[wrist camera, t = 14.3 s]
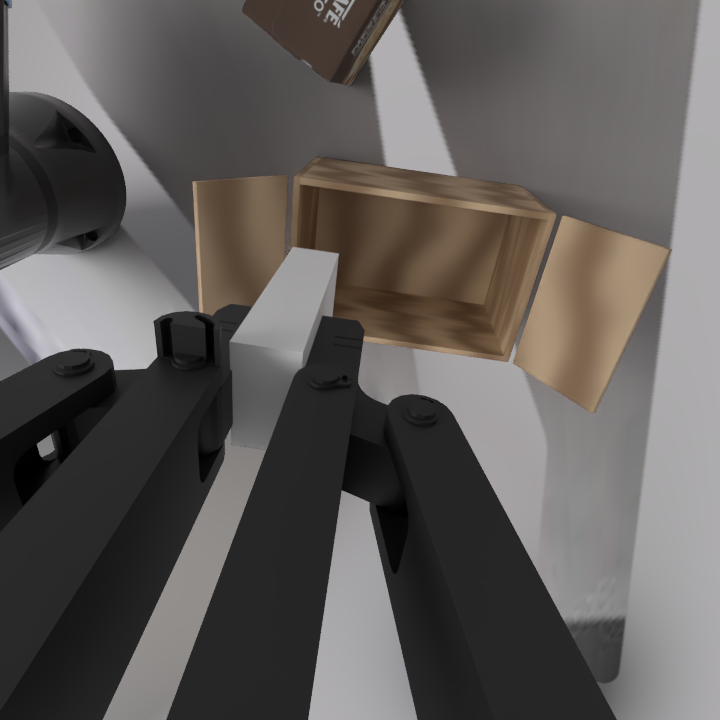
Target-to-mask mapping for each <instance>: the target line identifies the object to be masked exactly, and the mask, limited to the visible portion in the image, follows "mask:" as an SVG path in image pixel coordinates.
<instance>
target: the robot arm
mask: <svg viewBox="0 0 720 720" xmlns="http://www.w3.org/2000/svg"><path fill="white" fill-rule="evenodd" d="M11 7H12V1H11V0H0V270H1V269H4V268H6V267H8V266H10V265H12V264H14V263H16V262H18V261H20V260H22V259H24V258H26V257H28V256H30V255H33V254H74V253H79V252H83V251H86V250H88V249H91V248H93V247H95V246H97V245H98V244H100V243H102V242H104V241H105V240H107V239H108V238H109V237H111V236H112V235H113V233H114V232H115V231H116V230H117V228H118V227H119V225H120V223H121V221H122V218H123V215H124V212H125V206H126V186H125V180H124V176H123V172H122V170H121V166H120V163H119V161H118V159H117V157H116V155H115V153H114V151H113V149H112V147H111V146H110V144H109V143H108V141H107V140H106V138H105V137H104V135H103V134H102V133H101V132H100V131H99V129H98V128H97V127H96V126H95V125H94V124H93V123H92V122H91V121H90V120H89V119H88V118H87V117H86V116H84V115H83V114H82V113H81V112H79V111H78V110H77V109H75V108H74V107H72V106H71V105H69V104H67V103H65V102H63V101H61V100H59V99H57V98H55V97H52V96H49V95H45V94H41V93H36V92H9V56H8V55H9V50H8V49H9V47H8V8H11ZM338 258H339V254H338V253H331V252H324V251H318V250H311V249H304V248H297V247H293V248H292V249H291V251H290V252H289V254H288V255H287V257H286V258H285V260H284V261H283V263H282V264H281V266H280V267H279V269H278V270H277V271H276V273H275V274H274V276H273V277H272V279H271V280H270V282H269V283H268V285H267V286H266V288H265V289H264V291H263V292H262V294H261V295H260V297H259V298H258V300H257V301H256V303H255V304H254V306H253V307H251V306H244V305H237V304H229V305H227V306H225V307H223V308H221V309H219V310H217V311H216V312H215V313H214V315H213V316H211V315H209V314H205V313H201V312H189V311H184V312H175V313H170V314H167V315H164V316H161V317H159V318H158V319H156V320H155V321H154V327H155V337H156V346H157V355H158V357H157V358H156V359H155V360H154V361H153V362H152V364H151V365H150V366H149V367H148V368H147V369H137V370H114V365H113V361H112V359H111V357H110V356H109V355H108V354H106V353H104V352H102V351H97V350H91V349H71V350H69V351H64V352H59V353H57V354H54V355H52V356H49V357H47V358H45V359H43V360H41V361H39V362H37V363H35V364H33V365H31V366H29V367H27V368H25V369H23V370H22V371H20V372H18V373H16V374H14V375H12V376H10V377H8V378H6V379H4V380H2V381H0V720H102V719H103V718H104V715H105V713H106V711H107V709H108V707H109V704H110V703H111V700H112V698H113V696H114V694H115V692H116V690H117V688H118V685H119V683H120V681H121V679H122V677H123V675H124V673H125V670H126V668H127V666H128V664H129V662H130V660H131V658H132V656H133V653H134V651H135V649H136V647H137V645H138V643H139V641H140V638H141V636H142V634H143V632H144V630H145V627H146V625H147V623H148V621H149V619H150V617H151V615H152V613H153V610H154V608H155V606H156V604H157V602H158V600H159V598H160V596H161V593H162V591H163V589H164V587H165V585H166V582H167V580H168V578H169V576H170V574H171V572H172V570H173V568H174V566H175V564H176V561H177V559H178V557H179V555H180V553H181V551H182V549H183V546H184V544H185V542H186V540H187V538H188V536H189V533H190V531H191V529H192V527H193V525H194V523H195V521H196V518H197V516H198V514H199V512H200V510H201V508H202V506H203V504H204V501H205V499H206V497H207V495H208V493H209V491H210V489H211V486H212V484H213V482H214V480H215V478H216V476H217V474H218V472H219V469H220V467H221V465H222V463H223V461H224V455H225V438H226V436H227V434H228V432H229V430H230V428H231V445H235V446H242V447H249V448H256V449H263V450H266V453H265V455H264V458H263V461H262V464H261V466H260V469H259V471H258V474H257V477H256V480H255V482H254V485H253V488H252V490H251V493H250V496H249V498H248V501H247V504H246V507H245V509H244V512H243V515H242V517H241V520H240V523H239V525H238V528H237V531H236V534H235V536H234V539H233V541H232V544H231V547H230V550H229V552H228V555H227V558H226V560H225V563H224V566H223V568H222V571H221V574H220V577H219V579H218V582H217V585H216V587H215V590H214V593H213V596H212V598H211V601H210V604H209V607H208V609H207V612H206V614H205V617H204V620H203V622H202V625H201V628H200V630H199V633H198V636H197V638H196V641H195V644H194V647H193V650H192V652H191V655H190V658H189V660H188V663H187V665H186V668H185V671H184V674H183V676H182V679H181V682H180V684H179V687H178V690H177V693H176V695H175V698H174V700H173V703H172V706H171V709H170V711H169V714H168V717H167V719H166V720H308V716H309V709H310V702H311V696H312V688H313V682H314V675H315V668H316V662H317V655H318V648H319V641H320V633H321V627H322V620H323V614H324V607H325V600H326V593H327V586H328V579H329V573H330V566H331V559H332V552H333V545H334V538H335V532H336V524H337V518H338V511H339V504H340V498H341V491H342V490H343V491H345V492H348V493H350V494H352V495H354V496H357V497H359V498H361V499H364V500H366V501H368V502H370V514H371V518H372V523H373V526H374V531H375V535H376V540H377V544H378V549H379V553H380V557H381V562H382V566H383V571H384V575H385V579H386V583H387V588H388V592H389V597H390V601H391V606H392V610H393V614H394V618H395V623H396V627H397V632H398V636H399V641H400V645H401V649H402V653H403V658H404V662H405V667H406V671H407V675H408V680H409V684H410V689H411V693H412V697H413V701H414V706H415V710H416V715H417V719H418V720H617V719H616V718H615V716H614V714H613V712H612V710H611V708H610V706H609V705H608V703H607V701H606V699H605V697H604V695H603V693H602V692H601V690H600V688H599V686H598V684H597V682H596V680H595V678H594V677H593V675H592V673H591V671H590V669H589V667H588V665H587V663H586V662H585V660H584V658H583V656H582V654H581V652H580V650H579V649H578V647H577V645H576V643H575V641H574V639H573V637H572V635H571V634H570V632H569V630H568V628H567V626H566V624H565V622H564V621H563V619H562V617H561V615H560V613H559V611H558V609H557V607H556V606H555V604H554V602H553V600H552V598H551V596H550V594H549V593H548V591H547V589H546V587H545V585H544V583H543V581H542V579H541V578H540V576H539V574H538V572H537V570H536V568H535V566H534V565H533V563H532V561H531V559H530V557H529V555H528V553H527V552H526V550H525V548H524V546H523V544H522V542H521V540H520V538H519V536H518V535H517V533H516V531H515V529H514V527H513V525H512V523H511V522H510V520H509V518H508V516H507V514H506V512H505V510H504V509H503V507H502V505H501V503H500V501H499V499H498V497H497V495H496V494H495V492H494V490H493V488H492V486H491V484H490V482H489V481H488V479H487V477H486V475H485V473H484V471H483V470H482V467H481V466H480V464H479V462H478V460H477V458H476V456H475V454H474V453H473V451H472V449H471V447H470V445H469V443H468V441H467V440H466V438H465V436H464V434H463V432H462V430H461V428H460V426H459V424H458V423H457V421H456V419H455V417H454V415H453V414H452V412H451V411H450V410H449V409H448V408H447V406H445V405H444V404H442V403H440V402H439V401H437V400H435V399H432V398H429V397H427V396H423V395H414V394H411V395H402V396H399V397H397V398H395V399H393V400H392V401H391V402H390V404H389V405H386V404H383V403H381V402H378V401H376V400H374V399H372V398H371V397H369V396H368V395H366V394H365V393H364V392H363V391H362V390H361V388H360V386H359V384H358V374H359V366H360V359H361V352H362V345H363V338H364V331H365V330H364V328H363V327H362V325H361V324H360V322H359V321H357V320H350V319H343V318H337V317H332V315H333V306H334V296H335V287H336V277H337V267H338ZM50 434H51V437H52V441H53V444H54V448H55V450H54V451H53V452H52V453H50V454H49V455H46V456H44V457H41V456H40V455H39V451H38V448H37V443H38V442H40V441H41V440H43V439H44V438H46V437H47V436H49V435H50Z"/></svg>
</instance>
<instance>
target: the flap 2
mask: <svg viewBox="0 0 720 720" xmlns="http://www.w3.org/2000/svg"><path fill="white" fill-rule="evenodd" d="M671 251H672V249H669V248H666V247H663V246H660V245H656V244H653V243H650V242H647V241H644V240H641V239H638V238H635V237H632V236H628V235H625V234H622V233H619V232H616V231H613V230H610V229H607V228H604V227H600V226H597V225H594V224H591V223H588V222H585V221H582V220H579V219H575V218H572V217H569V216H566V215H564V216H562V219H561V222H560V225H559V228H558V231H557V234H556V237H555V240H554V243H553V246H552V249H551V252H550V255H549V258H548V261H547V263H546V266H545V269H544V272H543V275H542V278H541V281H540V284H539V287H538V290H537V293H536V296H535V299H534V302H533V305H532V308H531V311H530V314H529V317H528V320H527V323H526V326H525V328H524V331H523V334H522V337H521V340H520V343H519V346H518V349H517V352H516V355H515V358H514V361H513V364H515V365H516V366H518V367H520V368H521V369H523V370H524V371H526V372H527V373H529V374H531V375H532V376H534V377H535V378H537V379H538V380H540V381H542V382H543V383H545V384H546V385H548V386H549V387H551V388H553V389H554V390H556V391H557V392H559V393H561V394H562V395H564V396H565V397H567V398H568V399H570V400H572V401H573V402H575V403H576V404H578V405H579V406H581V407H583V408H584V409H586V410H587V411H589V412H590V413H592V414H593V413H595V412H596V410H597V408H598V406H599V403H600V401H601V399H602V397H603V395H604V393H605V391H606V389H607V387H608V384H609V382H610V380H611V378H612V376H613V374H614V372H615V370H616V367H617V365H618V363H619V361H620V359H621V357H622V355H623V353H624V351H625V348H626V346H627V344H628V342H629V340H630V338H631V336H632V334H633V331H634V329H635V327H636V325H637V323H638V321H639V319H640V317H641V314H642V312H643V310H644V308H645V306H646V304H647V302H648V300H649V298H650V295H651V293H652V291H653V289H654V287H655V285H656V283H657V281H658V278H659V276H660V274H661V272H662V270H663V268H664V266H665V264H666V261H667V259H668V257H669V255H670V253H671Z"/></svg>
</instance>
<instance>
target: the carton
mask: <svg viewBox="0 0 720 720" xmlns="http://www.w3.org/2000/svg"><path fill="white" fill-rule="evenodd" d="M556 216H557V214H556V213H555V212H553V211H552V210H551V209H549V208H548V207H547V206H546V205H544V204H543V203H542V202H541V201H539V200H538V199H537V198H536V197H534V196H533V195H532V194H530V193H529V192H528V191H527V190H525V189H524V188H523V187H522V186H517V185H510V184H503V183H497V182H490V181H483V180H476V179H469V178H462V177H455V176H448V175H441V174H434V173H428V172H421V171H414V170H407V169H400V168H393V167H386V166H379V165H372V164H366V163H359V162H352V161H345V160H338V159H331V158H324V157H316V158H315V159H314V160H313V161H312V162H310V163H309V164H308V165H307V166H305V167H304V168H303V169H302V170H301V171H299V172H298V173H297V174H296V175H295V176H294V179H293V199H292V219H291V239H290V251H291V249H292V248H293V247H297V248H304V249H311V250H318V251H324V252H331V253H338V254H339V258H338V267H337V277H336V287H335V296H334V306H333V315H332V317H337V318H343V319H350V320H357V321H359V322H360V324H361V325H362V327H363V328H364V330H365V331H364V338H363V341H366V342H373V343H380V344H387V345H394V346H401V347H408V348H415V349H422V350H429V351H435V352H442V353H449V354H456V355H463V356H470V357H477V358H484V359H491V360H498V361H505V362H508V360H509V357H510V355H511V352H512V349H513V346H514V343H515V340H516V337H517V334H518V331H519V328H520V325H521V322H522V319H523V316H524V313H525V310H526V307H527V303H528V300H529V297H530V294H531V291H532V288H533V285H534V282H535V279H536V276H537V273H538V270H539V267H540V264H541V261H542V258H543V255H544V252H545V249H546V246H547V243H548V240H549V237H550V234H551V231H552V228H553V225H554V222H555V219H556Z"/></svg>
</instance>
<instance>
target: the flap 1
mask: <svg viewBox="0 0 720 720" xmlns="http://www.w3.org/2000/svg"><path fill="white" fill-rule="evenodd" d="M287 189H288V176H287V175H273V176H258V177H244V178H230V179H216V180H202V181H193V200H194V218H195V237H196V255H197V275H198V294H199V312H201V313H205V314H209V315H211V316H213V315H214V313H215V312H216V311H217V310H219V309H221V308H223V307H225V306H227V305H229V304H237V305H244V306H251V307H253V306H254V304H255V303H256V301H257V300H258V298H259V297H260V295H261V294H262V292H263V291H264V289H265V288H266V286H267V285H268V283H269V282H270V280H271V279H272V277H273V276H274V274H275V273H276V271H277V270H278V269H279V267H280V266H281V264H282V263H283V261H284V257H285V234H286V212H287Z"/></svg>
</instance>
